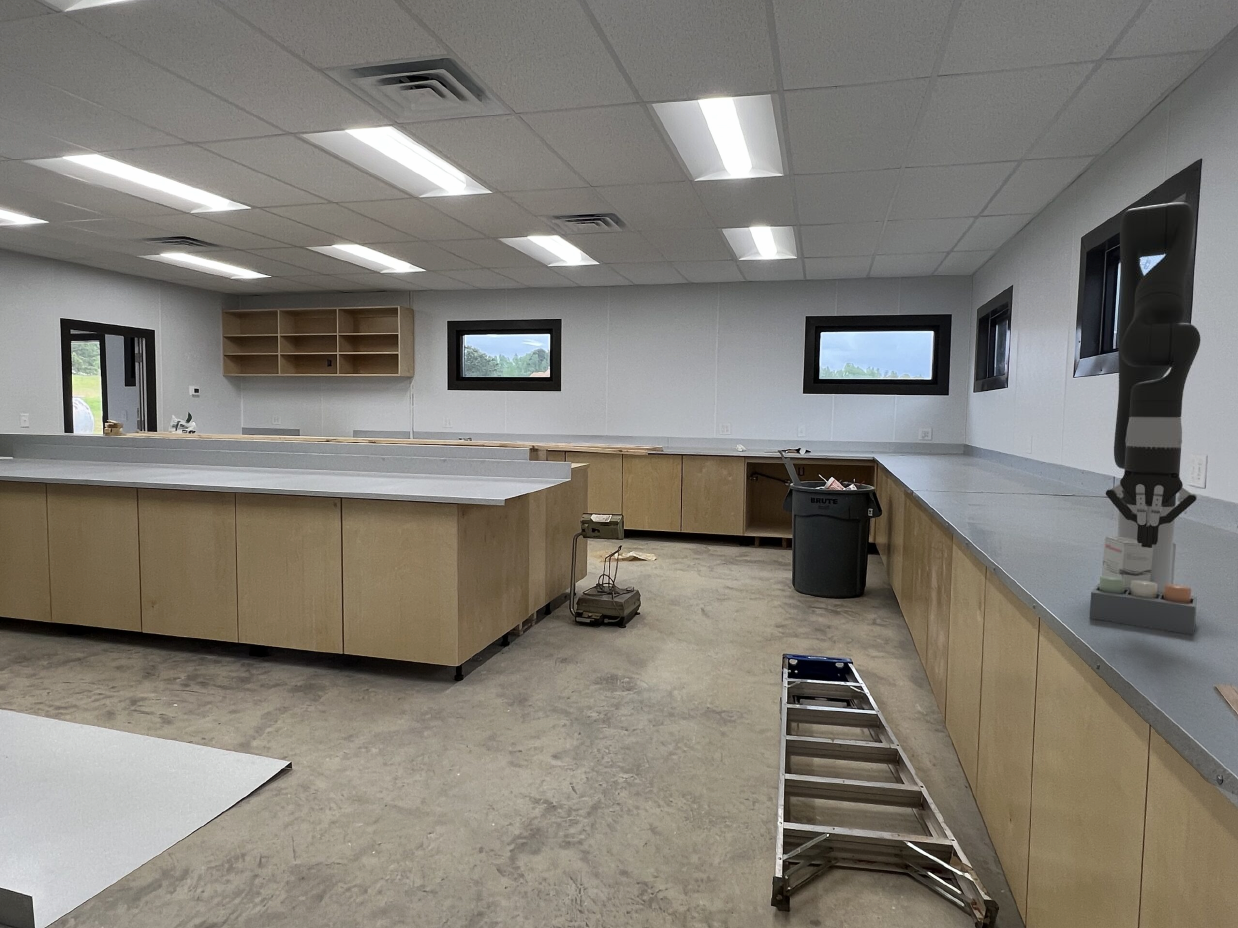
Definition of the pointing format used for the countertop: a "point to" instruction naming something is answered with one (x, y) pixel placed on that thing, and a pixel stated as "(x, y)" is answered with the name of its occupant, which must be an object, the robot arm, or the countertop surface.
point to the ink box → (1126, 560)
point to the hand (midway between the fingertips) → (1146, 546)
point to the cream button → (1144, 588)
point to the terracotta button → (1177, 593)
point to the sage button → (1112, 584)
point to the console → (1143, 610)
